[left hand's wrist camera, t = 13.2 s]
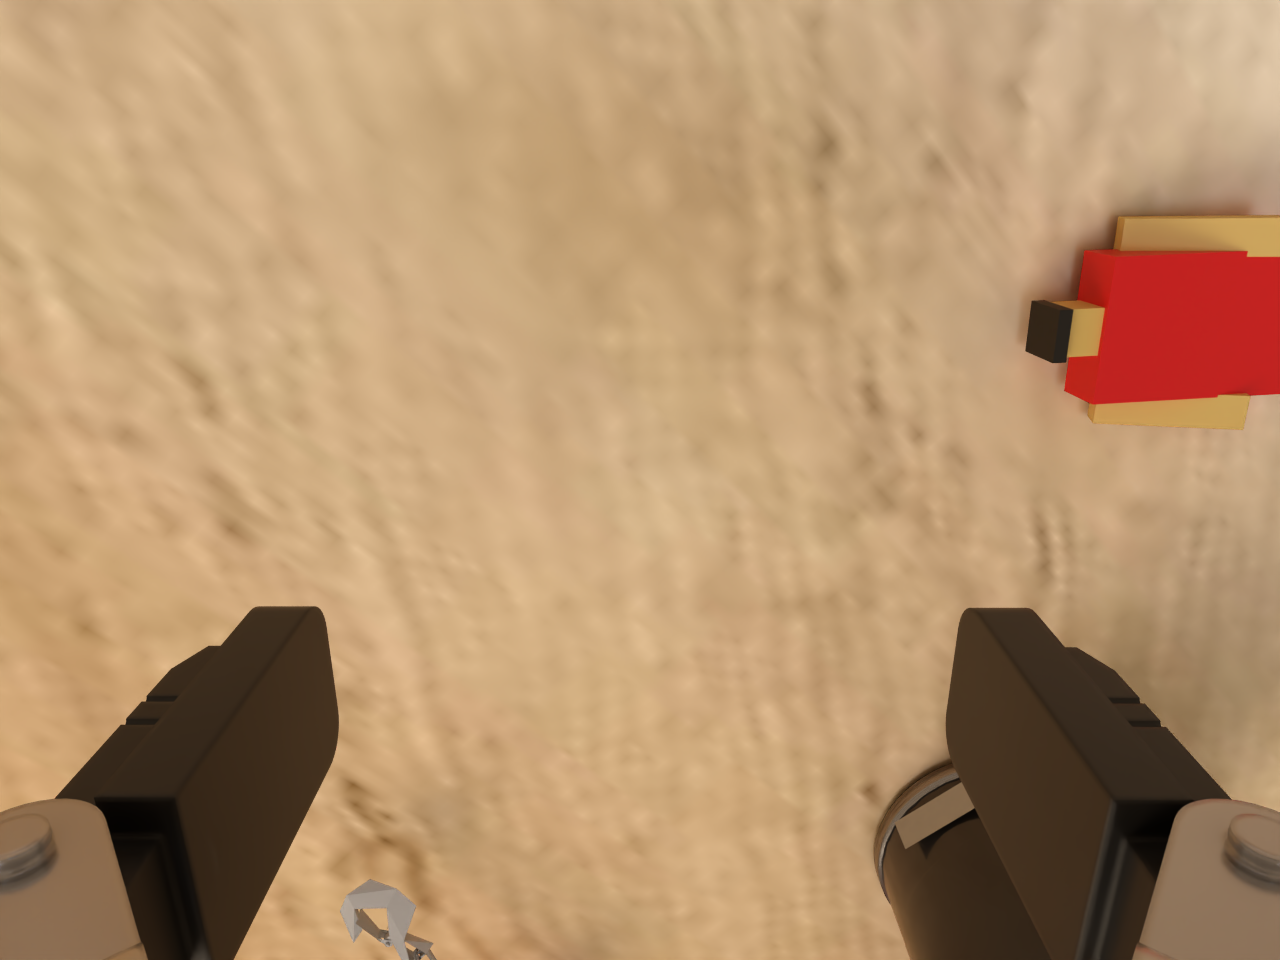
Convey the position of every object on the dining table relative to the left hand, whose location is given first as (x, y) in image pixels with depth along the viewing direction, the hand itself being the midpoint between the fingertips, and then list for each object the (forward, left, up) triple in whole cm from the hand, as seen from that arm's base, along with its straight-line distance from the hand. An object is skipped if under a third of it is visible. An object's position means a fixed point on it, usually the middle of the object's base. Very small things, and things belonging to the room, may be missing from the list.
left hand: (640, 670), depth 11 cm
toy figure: (-10, -17, -21) cm, 29 cm away
